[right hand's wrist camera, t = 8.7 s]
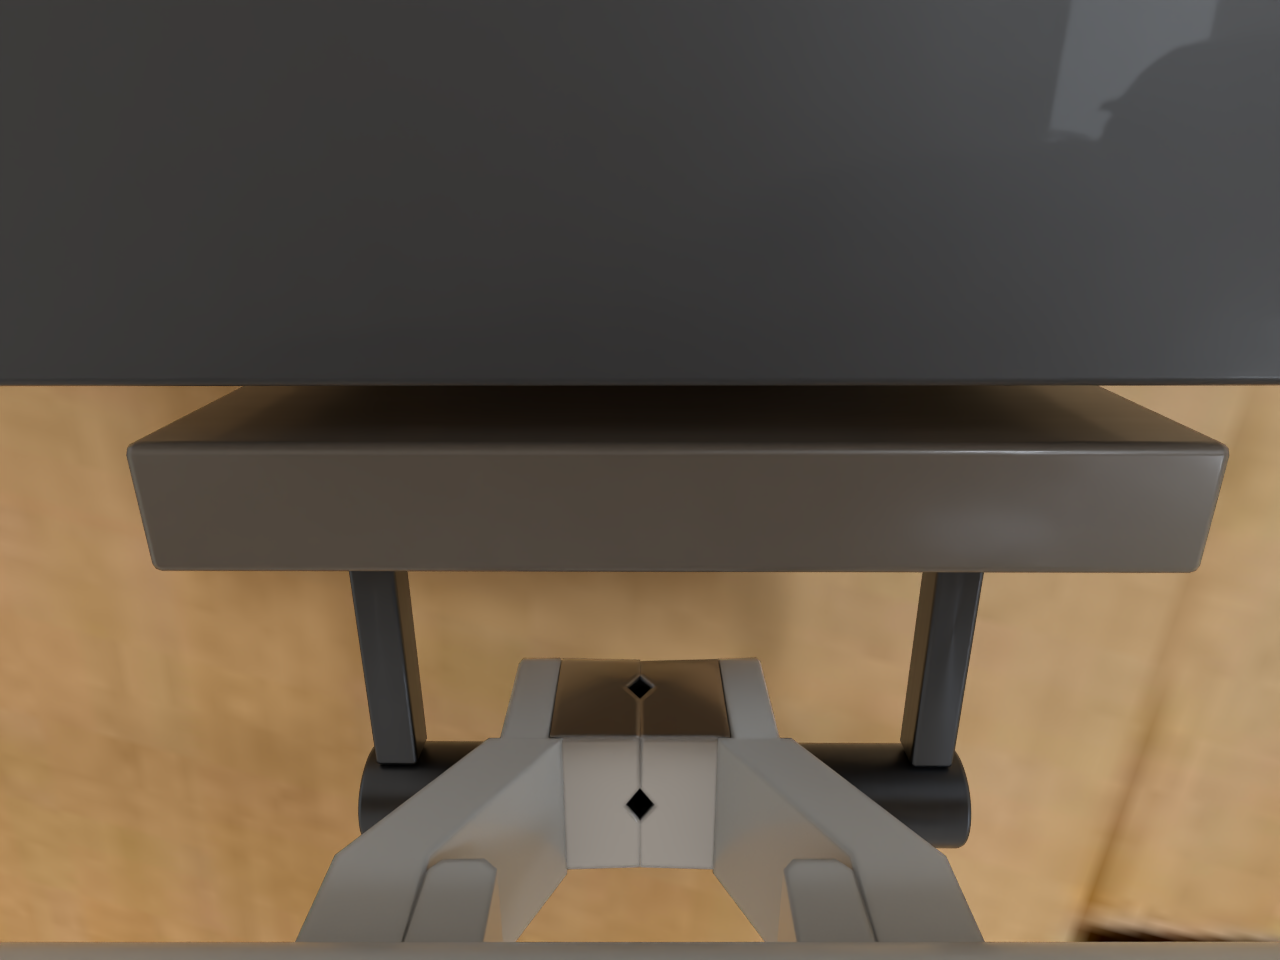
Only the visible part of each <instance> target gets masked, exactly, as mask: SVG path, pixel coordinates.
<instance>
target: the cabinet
mask: <svg viewBox="0 0 1280 960" xmlns="http://www.w3.org/2000/svg"><path fill="white" fill-rule="evenodd" d="M956 385H1280V0H0V386H956Z"/></svg>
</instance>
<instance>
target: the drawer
mask: <svg viewBox="0 0 1280 960" xmlns="http://www.w3.org/2000/svg"><path fill="white" fill-rule="evenodd" d="M1228 458H1229V450H1228V447H1227V446H1226V445H1225V444H1223V443H1221V442H1219V441H1216V440H1214V439H1212V438H1210V437H1208V436H1206V435H1203V434H1201V433H1199V432H1197V431H1195V430H1193V429H1190V428H1188V427H1186V426H1184V425H1182V424H1180V423H1177V422H1175V421H1173V420H1171V419H1169V418H1167V417H1164V416H1162V415H1160V414H1158V413H1156V412H1154V411H1151V410H1149V409H1147V408H1145V407H1143V406H1141V405H1138V404H1136V403H1134V402H1132V401H1130V400H1128V399H1126V398H1123V397H1121V396H1119V395H1117V394H1115V393H1113V392H1110V391H1108V390H1106V389H1104V388H1102V387H1100V386H1097V385H956V386H243V387H241V388H239V389H237V390H235V391H233V392H231V393H229V394H227V395H225V396H223V397H221V398H219V399H217V400H216V401H214V402H212V403H210V404H208V405H206V406H204V407H202V408H200V409H198V410H196V411H194V412H192V413H190V414H188V415H186V416H184V417H182V418H180V419H178V420H176V421H174V422H173V423H171V424H169V425H167V426H165V427H163V428H161V429H159V430H157V431H155V432H153V433H151V434H149V435H147V436H145V437H143V438H141V439H139V440H137V441H135V442H133V443H132V444H130V445H129V446H128V448H127V460H128V464H129V468H130V472H131V476H132V480H133V485H134V489H135V493H136V497H137V501H138V505H139V510H140V514H141V518H142V522H143V526H144V530H145V535H146V539H147V543H148V547H149V551H150V555H151V560H152V563H153V565H154V566H155V568H156V569H159V570H162V571H349V575H350V582H351V588H352V595H353V602H354V609H355V616H356V623H357V630H358V637H359V644H360V650H361V657H362V664H363V671H364V678H365V685H366V692H367V699H368V706H369V712H370V719H371V726H372V733H373V740H374V747H373V749H372V750H371V752H370V754H369V756H368V759H367V761H366V764H365V767H364V771H363V775H362V779H361V784H360V791H359V802H358V816H359V826H360V832H361V835H362V834H363V833H365V832H366V831H367V830H369V829H370V828H371V827H373V826H374V825H375V824H376V823H378V822H379V821H380V820H382V819H383V818H384V817H386V816H387V815H388V814H390V813H391V812H392V811H394V810H395V809H396V808H397V807H399V806H400V805H401V804H403V803H404V802H405V801H407V800H408V799H409V798H411V797H412V796H413V795H415V794H416V793H417V792H419V791H420V790H421V789H422V788H424V787H425V786H426V785H428V784H429V783H430V782H432V781H433V780H434V779H436V778H437V777H438V776H440V775H441V774H442V773H443V772H445V771H446V770H447V769H449V768H450V767H451V766H453V765H454V764H455V763H457V762H458V761H459V760H461V759H462V758H463V757H465V756H466V755H467V754H468V753H470V752H471V751H472V750H474V749H475V748H476V747H478V746H479V745H480V744H482V743H483V742H470V741H426V739H427V735H426V726H425V718H424V709H423V701H422V692H421V684H420V675H419V666H418V658H417V649H416V641H415V632H414V624H413V615H412V607H411V598H410V589H409V581H408V572H407V571H598V572H923V574H922V581H921V589H920V596H919V604H918V611H917V618H916V626H915V633H914V641H913V648H912V656H911V663H910V671H909V678H908V686H907V693H906V701H905V708H904V716H903V723H902V731H901V738H900V741H901V743H798V744H800V745H801V746H802V747H804V748H805V749H806V750H808V751H809V752H810V753H812V754H813V755H814V756H815V757H817V758H818V759H819V760H821V761H822V762H823V763H825V764H826V765H827V766H829V767H830V768H831V769H832V770H834V771H835V772H836V773H838V774H839V775H840V776H842V777H843V778H844V779H846V780H847V781H848V782H849V783H851V784H852V785H853V786H855V787H856V788H857V789H859V790H860V791H861V792H863V793H864V794H865V795H866V796H868V797H869V798H870V799H872V800H873V801H874V802H876V803H877V804H878V805H880V806H881V807H882V808H883V809H885V810H886V811H887V812H889V813H890V814H891V815H893V816H894V817H895V818H897V819H898V820H899V821H900V822H902V823H903V824H904V825H906V826H907V827H908V828H910V829H911V830H912V831H914V832H915V833H916V834H917V835H919V836H920V837H921V838H923V839H924V840H925V841H927V842H928V843H929V844H931V845H932V846H933V847H934V848H959V847H961V846H963V845H964V844H965V843H966V841H967V839H968V836H969V832H970V826H971V800H970V792H969V786H968V782H967V778H966V774H965V771H964V768H963V765H962V762H961V760H960V758H959V756H958V754H957V753H956V751H955V745H956V739H957V733H958V727H959V721H960V715H961V709H962V702H963V696H964V690H965V684H966V678H967V672H968V666H969V660H970V654H971V647H972V641H973V635H974V629H975V623H976V617H977V611H978V605H979V599H980V592H981V586H982V580H983V574H984V572H1072V573H1190V572H1193V571H1196V570H1197V568H1198V567H1199V566H1200V563H1201V559H1202V555H1203V552H1204V548H1205V544H1206V540H1207V537H1208V533H1209V529H1210V526H1211V522H1212V518H1213V514H1214V511H1215V507H1216V503H1217V499H1218V496H1219V492H1220V488H1221V484H1222V481H1223V477H1224V473H1225V470H1226V466H1227V462H1228Z"/></svg>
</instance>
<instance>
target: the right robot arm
mask: <svg viewBox="0 0 1280 960" xmlns="http://www.w3.org/2000/svg"><path fill="white" fill-rule="evenodd" d="M628 867H650V868H685V869H713V874H714V875H715V876H716V878H717V879H718V880H719V882H720V883H721V884H722V886H723V887H724V888H725V890H726V891H727V892H728V893H729V895H730V896H731V897H732V899H733V900H734V901H735V903H736V904H737V905H738V907H739V908H740V909H741V911H742V912H743V913H744V915H745V916H746V917H747V919H748V920H749V921H750V923H751V924H752V925H753V927H754V928H755V929H756V931H757V932H758V933H759V935H760V936H761V937H762V939H763V940H764V941H765V942H516V941H517V939H518V938H519V937H520V935H521V934H522V933H523V931H524V930H525V929H526V927H527V926H528V925H529V923H530V922H531V921H532V919H533V918H534V917H535V915H536V914H537V913H538V911H539V910H540V909H541V907H542V906H543V905H544V904H545V902H546V901H547V900H548V898H549V897H550V896H551V894H552V893H553V892H554V890H555V889H556V888H557V886H558V885H559V884H560V882H561V881H562V880H563V878H564V877H565V876H566V874H567V869H594V868H628ZM0 960H1280V942H985V941H984V939H983V937H982V935H981V933H980V930H979V928H978V926H977V924H976V922H975V919H974V917H973V915H972V913H971V910H970V908H969V906H968V904H967V902H966V899H965V897H964V895H963V893H962V890H961V888H960V886H959V884H958V882H957V879H956V877H955V875H954V873H953V871H952V868H951V866H950V864H949V862H948V859H947V857H946V856H945V855H944V854H942V853H941V852H940V851H938V850H937V849H936V848H934V847H933V846H932V845H931V844H929V843H928V842H927V841H925V840H924V839H923V838H921V837H920V836H919V835H917V834H916V833H915V832H914V831H912V830H911V829H910V828H908V827H907V826H906V825H904V824H903V823H902V822H900V821H899V820H898V819H897V818H895V817H894V816H893V815H891V814H890V813H889V812H887V811H886V810H885V809H883V808H882V807H881V806H880V805H878V804H877V803H876V802H874V801H873V800H872V799H870V798H869V797H868V796H866V795H865V794H864V793H863V792H861V791H860V790H859V789H857V788H856V787H855V786H853V785H852V784H851V783H849V782H848V781H847V780H846V779H844V778H843V777H842V776H840V775H839V774H838V773H836V772H835V771H834V770H832V769H831V768H830V767H829V766H827V765H826V764H825V763H823V762H822V761H821V760H819V759H818V758H817V757H815V756H814V755H813V754H812V753H810V752H809V751H808V750H806V749H805V748H804V747H802V746H801V745H800V744H798V743H797V742H796V741H795V740H793V739H792V738H780V737H779V733H778V729H777V725H776V721H775V717H774V713H773V709H772V706H771V702H770V698H769V694H768V690H767V686H766V682H765V678H764V674H763V670H762V666H761V662H760V661H759V660H758V659H757V658H756V657H754V658H728V659H705V660H664V661H640V660H625V659H576V658H563V660H562V659H560V658H523V659H522V661H521V662H520V663H519V665H518V669H517V673H516V677H515V681H514V685H513V689H512V693H511V697H510V701H509V705H508V709H507V713H506V717H505V721H504V725H503V729H502V733H501V737H500V738H488V739H487V740H486V741H484V742H483V743H482V744H480V745H479V746H478V747H476V748H475V749H474V750H472V751H471V752H470V753H468V754H467V755H466V756H465V757H463V758H462V759H461V760H459V761H458V762H457V763H455V764H454V765H453V766H451V767H450V768H449V769H447V770H446V771H445V772H443V773H442V774H441V775H440V776H438V777H437V778H436V779H434V780H433V781H432V782H430V783H429V784H428V785H426V786H425V787H424V788H422V789H421V790H420V791H419V792H417V793H416V794H415V795H413V796H412V797H411V798H409V799H408V800H407V801H405V802H404V803H403V804H401V805H400V806H399V807H397V808H396V809H395V810H394V811H392V812H391V813H390V814H388V815H387V816H386V817H384V818H383V819H382V820H380V821H379V822H378V823H376V824H375V825H374V826H373V827H371V828H370V829H369V830H367V831H366V832H365V833H363V834H362V835H361V836H359V837H358V838H357V839H355V840H354V841H353V842H351V843H350V844H349V845H348V846H346V847H345V848H344V849H342V850H341V851H340V852H338V853H337V854H336V855H335V856H334V858H333V860H332V863H331V865H330V867H329V869H328V871H327V874H326V876H325V878H324V880H323V882H322V884H321V887H320V889H319V891H318V893H317V895H316V898H315V900H314V902H313V904H312V906H311V908H310V911H309V913H308V915H307V917H306V919H305V922H304V924H303V926H302V928H301V930H300V933H299V935H298V937H297V939H296V941H295V942H0Z"/></svg>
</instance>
